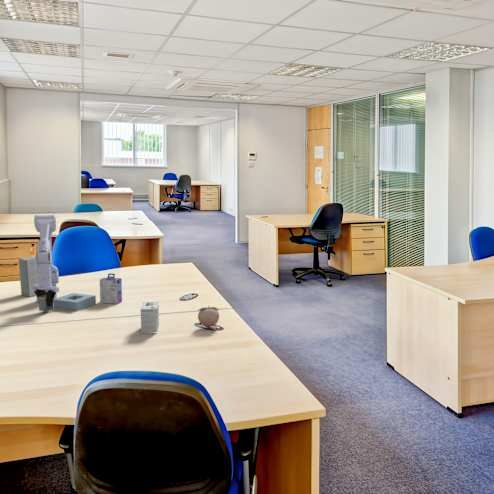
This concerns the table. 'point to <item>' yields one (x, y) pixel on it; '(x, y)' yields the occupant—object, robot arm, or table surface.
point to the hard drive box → (28, 275)
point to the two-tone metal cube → (44, 304)
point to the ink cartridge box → (111, 289)
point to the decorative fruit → (208, 316)
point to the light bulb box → (149, 317)
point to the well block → (74, 301)
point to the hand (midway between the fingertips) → (46, 305)
